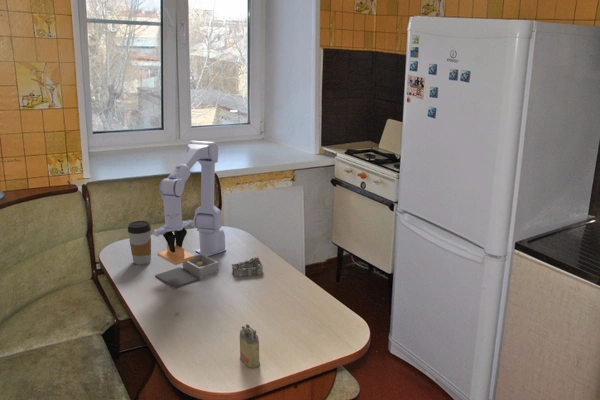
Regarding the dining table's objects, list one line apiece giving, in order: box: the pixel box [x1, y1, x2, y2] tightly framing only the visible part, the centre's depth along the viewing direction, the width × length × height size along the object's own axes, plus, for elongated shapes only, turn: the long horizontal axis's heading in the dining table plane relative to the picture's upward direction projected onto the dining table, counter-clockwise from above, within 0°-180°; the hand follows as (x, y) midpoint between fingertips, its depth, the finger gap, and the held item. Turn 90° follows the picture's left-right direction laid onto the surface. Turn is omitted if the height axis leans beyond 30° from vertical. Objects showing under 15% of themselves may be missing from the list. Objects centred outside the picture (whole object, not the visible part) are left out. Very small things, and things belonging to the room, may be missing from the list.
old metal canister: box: [239, 323, 261, 369], centre depth 150 cm, size 7×4×10 cm, turn 34°
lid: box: [157, 242, 195, 266], centre depth 197 cm, size 8×11×5 cm
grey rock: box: [231, 256, 264, 278], centre depth 205 cm, size 11×8×4 cm
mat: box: [154, 266, 201, 289], centre depth 200 cm, size 10×13×1 cm
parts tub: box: [182, 253, 220, 279], centre depth 207 cm, size 8×11×4 cm
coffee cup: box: [127, 220, 152, 266], centre depth 212 cm, size 8×8×15 cm
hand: (175, 250), depth 197 cm, fingers closed on lid
